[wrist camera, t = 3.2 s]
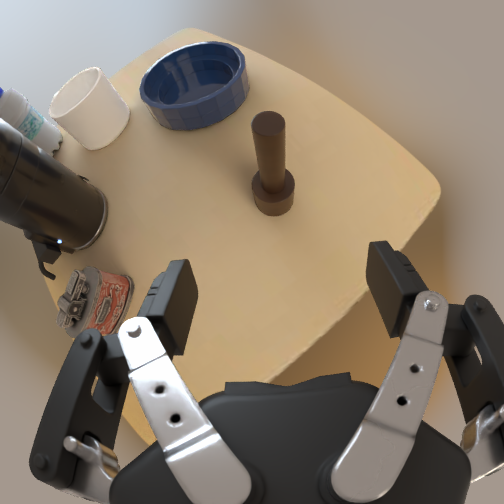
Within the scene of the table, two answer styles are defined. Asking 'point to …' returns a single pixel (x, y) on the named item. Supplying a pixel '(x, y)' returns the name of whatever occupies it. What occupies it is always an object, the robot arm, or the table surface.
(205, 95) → the bowl
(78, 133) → the mug
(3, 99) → the bottle
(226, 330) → the table surface
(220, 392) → the robot arm
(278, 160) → the brown peg with base
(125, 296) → the lighter
